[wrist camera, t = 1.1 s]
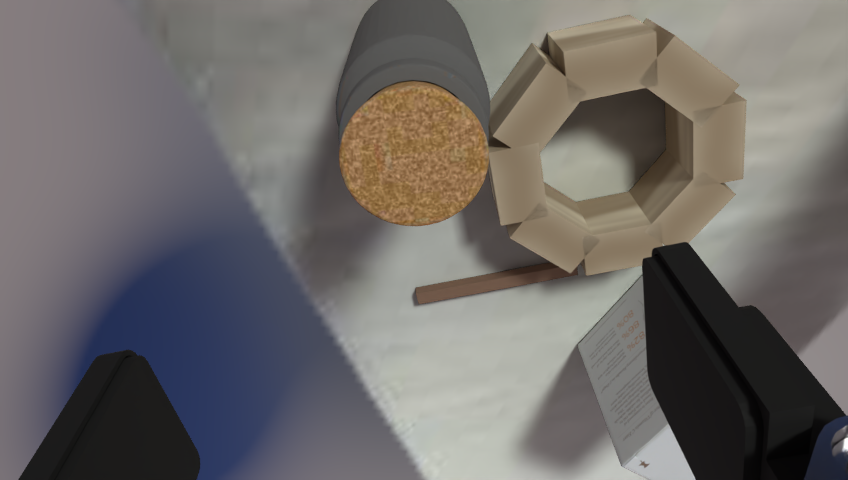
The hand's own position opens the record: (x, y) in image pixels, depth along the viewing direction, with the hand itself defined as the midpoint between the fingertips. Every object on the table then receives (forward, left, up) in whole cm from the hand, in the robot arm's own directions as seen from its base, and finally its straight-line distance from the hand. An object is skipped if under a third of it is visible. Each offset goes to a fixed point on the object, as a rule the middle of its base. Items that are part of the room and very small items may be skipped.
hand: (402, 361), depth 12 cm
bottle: (0, 0, -25) cm, 25 cm away
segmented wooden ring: (-9, +7, -24) cm, 27 cm away
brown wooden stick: (-2, +15, -24) cm, 29 cm away
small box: (-12, +21, -25) cm, 34 cm away
